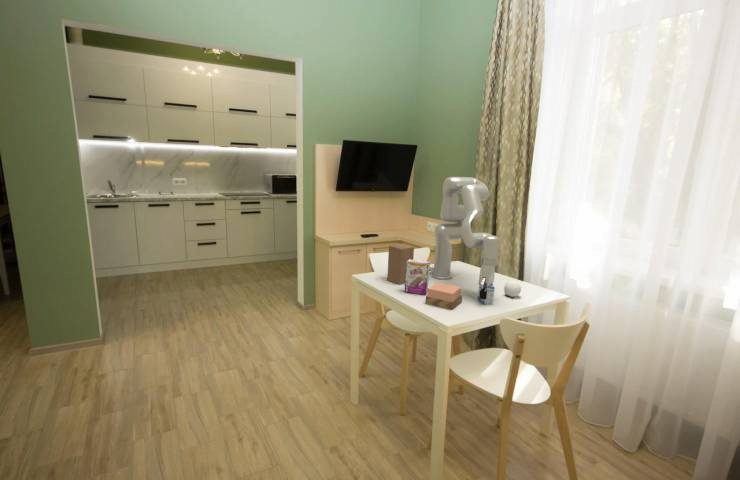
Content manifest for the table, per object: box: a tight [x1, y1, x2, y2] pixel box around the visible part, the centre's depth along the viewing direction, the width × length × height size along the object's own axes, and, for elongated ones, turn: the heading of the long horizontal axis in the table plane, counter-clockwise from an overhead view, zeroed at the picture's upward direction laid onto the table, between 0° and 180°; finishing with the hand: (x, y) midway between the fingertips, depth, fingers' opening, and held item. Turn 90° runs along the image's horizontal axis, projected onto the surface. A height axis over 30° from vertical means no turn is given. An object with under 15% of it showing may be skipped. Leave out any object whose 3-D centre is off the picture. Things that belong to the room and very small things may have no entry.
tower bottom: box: [425, 294, 463, 311], centre depth 178 cm, size 13×13×4 cm
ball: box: [503, 280, 522, 298], centre depth 191 cm, size 8×8×8 cm
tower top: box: [426, 281, 462, 302], centre depth 177 cm, size 12×12×4 cm
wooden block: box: [386, 243, 415, 285], centre depth 208 cm, size 10×10×20 cm
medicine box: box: [477, 284, 495, 305], centre depth 182 cm, size 8×4×9 cm, turn 8°
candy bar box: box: [404, 259, 431, 296], centre depth 190 cm, size 11×5×16 cm, turn 71°
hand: (485, 296), depth 182 cm, fingers closed on medicine box, 9 cm apart
